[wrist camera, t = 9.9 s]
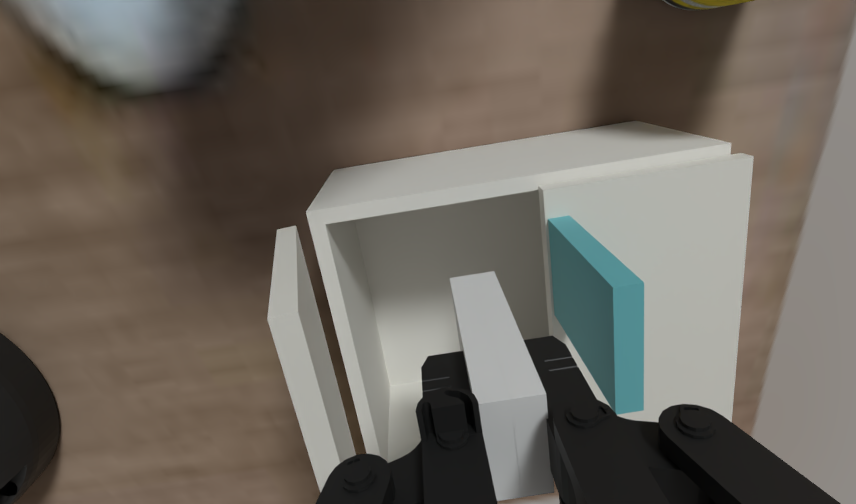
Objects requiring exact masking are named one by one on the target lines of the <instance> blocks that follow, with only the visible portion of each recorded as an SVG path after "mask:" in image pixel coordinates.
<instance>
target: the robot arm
mask: <svg viewBox="0 0 856 504" xmlns="http://www.w3.org/2000/svg"><path fill="white" fill-rule="evenodd" d="M450 285H451V291H452V298H453V305H454V311H455V318H456V325H457V331H458V338H459V344H460V350H461V351H458V352H451V353H445V354H438V355H432V356H428V357H427V359H426V360H425V362H424V364H423V366H422V367H421V375H422V395H423V397H422V399H421V400H420V401H419V402H418V403H417V407H416V416H417V421H418V426H419V431H420V437H421V441H420V443H419V444H418V445H417V446H416V448H415V449H413V450H412V451H411V452H410V453H408V454H407V455H405V456H403V457H401V458H399V459H396V460H394V461H392V462H389V463H387V461H386V460H385V459H383V458H382V457H380V456H378V455H373V454H360V455H355V456H353V457H350V458H348V459H346V460H344V461H343V462H341V463H340V464H339V465H337V466H336V467H335V468H334V470H333V471H332V472H331V474H330V475H329V477H328V479H327V481H326V483H325V485H324V487H323V489H322V491H321V493H320V495H319V498H318V500H317V502H316V504H497V501H500V500H507V499H514V498H520V497H527V496H534V495H540V494H547V493H554V482H553V478H554V481H555V484H556V487H557V489H558V492H559V500H560V504H840V503H839V502H838V501H836V500H835V499H834V498H832V497H831V496H830V495H828V494H827V493H826V492H824V491H823V490H822V489H820V488H819V487H818V486H816V485H815V484H814V483H812V482H811V481H809V480H808V479H807V478H805V477H804V476H803V475H801V474H800V473H799V472H797V471H796V470H795V469H793V468H792V467H791V466H789V465H788V464H787V463H785V462H784V461H783V460H781V459H780V458H779V457H777V456H776V455H775V454H773V453H772V452H771V451H769V450H768V449H767V448H765V447H764V446H763V445H761V444H760V443H758V442H757V441H756V440H754V439H753V438H752V437H751V436H749V435H748V434H747V433H745V432H744V431H742V430H741V429H740V428H738V427H737V426H736V425H734V424H733V423H732V422H730V421H729V420H728V419H726V418H725V417H724V416H722V415H721V414H719V413H717V412H715V411H713V410H712V409H709V408H706V407H702V406H699V405H692V404H679V405H674V406H670V407H668V408H667V409H665V410H663V411H662V413H661V415H660V416H659V418H658V422H648V421H636V420H630V419H625V418H622V417H619V416H617V415H616V413H615V412H614V411H613V410H612V409H611V407H610V406H609V405H607V404H605V403H603V402H601V401H599V400H597V399H596V397H595V395H594V393H593V392H592V390H591V388H590V386H589V385H588V383H587V381H586V379H585V378H584V376H583V374H582V372H581V371H580V369H579V367H577V364H576V362H575V360H574V358H572V355H571V353H570V351H569V350H568V348H567V346H566V344H564V343H563V342H561V341H560V340H558V339H557V338H555V337H554V336H547V337H540V338H534V339H527V340H523V338H522V336H521V333H520V331H519V328H518V326H517V324H516V321H515V319H514V317H513V314H512V312H511V310H510V307H509V305H508V303H507V300H506V298H505V296H504V293H503V291H502V288H501V286H500V284H499V281H498V279H497V277H496V274H495V272H494V271H492V272H485V273H479V274H472V275H466V276H460V277H453V278H450ZM58 438H59V418H58V412H57V408H56V404H55V401H54V399H53V396H52V394H51V391H50V389H49V387H48V385H47V384H46V382H45V380H44V378H43V377H42V375H41V374H40V372H39V371H38V370H37V368H36V367H35V366H34V364H33V363H32V362H31V361H30V360H29V359H28V357H27V356H26V355H25V354H24V353H23V352H22V351H21V350H20V349H19V348H18V347H16V346H15V345H14V344H13V343H12V342H11V341H10V340H8V339H7V338H6V337H5V336H3V335H2V334H1V333H0V504H13V503H14V502H15V501H17V500H18V499H19V498H20V497H21V496H22V495H23V493H24V492H25V491H26V490H27V489H28V488H29V487H30V486H31V485H32V483H33V482H34V481H35V480H36V479H37V478H38V477H39V476H40V474H41V473H42V472H43V471H44V470H45V469H46V467H47V466H48V464H49V463H50V461H51V459H52V457H53V455H54V453H55V450H56V447H57V443H58Z"/></svg>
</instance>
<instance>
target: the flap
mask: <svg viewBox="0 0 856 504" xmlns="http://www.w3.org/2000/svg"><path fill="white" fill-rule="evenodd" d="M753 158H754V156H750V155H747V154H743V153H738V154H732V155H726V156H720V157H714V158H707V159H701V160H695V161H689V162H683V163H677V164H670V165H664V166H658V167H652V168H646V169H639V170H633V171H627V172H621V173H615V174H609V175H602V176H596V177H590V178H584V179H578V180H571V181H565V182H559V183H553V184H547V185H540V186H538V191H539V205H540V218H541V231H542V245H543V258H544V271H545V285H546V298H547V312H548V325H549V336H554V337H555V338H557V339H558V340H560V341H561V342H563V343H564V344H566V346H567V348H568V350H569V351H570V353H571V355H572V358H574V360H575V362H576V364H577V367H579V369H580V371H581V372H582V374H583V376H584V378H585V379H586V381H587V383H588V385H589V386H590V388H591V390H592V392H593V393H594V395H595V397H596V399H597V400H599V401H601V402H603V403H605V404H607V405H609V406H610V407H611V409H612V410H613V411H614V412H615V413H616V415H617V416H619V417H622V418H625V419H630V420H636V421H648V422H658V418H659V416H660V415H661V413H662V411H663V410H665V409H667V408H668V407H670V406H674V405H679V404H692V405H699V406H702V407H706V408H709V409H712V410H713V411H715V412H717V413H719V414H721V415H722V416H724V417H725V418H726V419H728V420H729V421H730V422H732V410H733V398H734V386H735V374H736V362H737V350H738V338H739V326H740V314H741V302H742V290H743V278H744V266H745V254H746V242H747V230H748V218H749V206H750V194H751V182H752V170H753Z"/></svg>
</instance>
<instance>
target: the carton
mask: <svg viewBox="0 0 856 504" xmlns="http://www.w3.org/2000/svg"><path fill="white" fill-rule="evenodd" d="M730 154H731V143H729V142H725V141H721V140H717V139H712V138H708V137H704V136H700V135H695V134H691V133H687V132H683V131H678V130H674V129H670V128H666V127H661V126H657V125H653V124H649V123H644V122H640V121H630V122H624V123H618V124H611V125H605V126H599V127H593V128H587V129H581V130H575V131H568V132H562V133H556V134H550V135H544V136H538V137H532V138H525V139H519V140H513V141H507V142H501V143H495V144H488V145H482V146H476V147H470V148H464V149H458V150H452V151H445V152H439V153H433V154H427V155H421V156H415V157H409V158H402V159H396V160H390V161H384V162H378V163H372V164H365V165H359V166H353V167H347V168H341V169H335V170H333V171H332V173H331V174H330V176H329V178H328V179H327V181H326V182H325V184H324V185H323V187H322V188H321V190H320V191H319V193H318V194H317V196H316V197H315V199H314V200H313V202H312V203H311V205H310V206H309V208H308V209H307V211H306V215H307V219H308V223H309V227H310V231H311V234H312V238H313V242H314V246H315V250H316V254H317V258H318V262H319V266H320V270H321V274H322V278H323V282H324V286H325V290H326V294H327V298H328V302H329V306H330V310H331V314H332V318H333V322H334V326H335V330H336V334H337V338H338V342H339V346H340V350H341V354H342V358H343V362H344V366H345V370H346V374H347V378H348V381H349V385H350V389H351V393H352V397H353V401H354V405H355V409H356V413H357V417H358V421H359V425H360V429H361V433H362V437H363V441H364V445H365V449H366V453H367V454H373V455H378V456H380V457H382V458H383V459H385V460H386V461H387V463H389V462H392V461H394V460H396V459H399V458H401V457H403V456H405V455H407V454H408V453H410V452H411V451H412V450H413V449H415V448H416V446H417V445H418V444H419V443H420V441H421V437H420V431H419V426H418V421H417V416H416V407H417V403H418V402H419V401H420V400H421V399H422V397H423V395H422V375H421V367H422V366H423V364H424V362H425V360H426V359H427V357H428V356H432V355H438V354H445V353H451V352H458V351H461V350H460V344H459V338H458V331H457V325H456V318H455V311H454V305H453V298H452V291H451V285H450V278H453V277H460V276H466V275H472V274H479V273H485V272H492V271H494V272H495V274H496V277H497V279H498V281H499V284H500V286H501V288H502V291H503V293H504V296H505V298H506V300H507V303H508V305H509V307H510V310H511V312H512V314H513V317H514V319H515V321H516V324H517V326H518V328H519V331H520V333H521V336H522V338H523V340H527V339H534V338H540V337H547V336H549V325H548V312H547V298H546V285H545V271H544V258H543V245H542V231H541V218H540V205H539V191H538V186H540V185H547V184H553V183H559V182H565V181H571V180H578V179H584V178H590V177H596V176H602V175H609V174H615V173H621V172H627V171H633V170H639V169H646V168H652V167H658V166H664V165H670V164H677V163H683V162H689V161H695V160H701V159H707V158H714V157H720V156H726V155H730Z"/></svg>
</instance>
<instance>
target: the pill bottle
mask: <svg viewBox="0 0 856 504" xmlns="http://www.w3.org/2000/svg"><path fill="white" fill-rule="evenodd" d="M663 1H664V2H666V3H667V4H669V5H671V6H674V7H677V8H680V9H685V10H706V9H713V8H718V7H723V6H728V5H733V4H738V3H744V2H749V1H754V0H663Z"/></svg>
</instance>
